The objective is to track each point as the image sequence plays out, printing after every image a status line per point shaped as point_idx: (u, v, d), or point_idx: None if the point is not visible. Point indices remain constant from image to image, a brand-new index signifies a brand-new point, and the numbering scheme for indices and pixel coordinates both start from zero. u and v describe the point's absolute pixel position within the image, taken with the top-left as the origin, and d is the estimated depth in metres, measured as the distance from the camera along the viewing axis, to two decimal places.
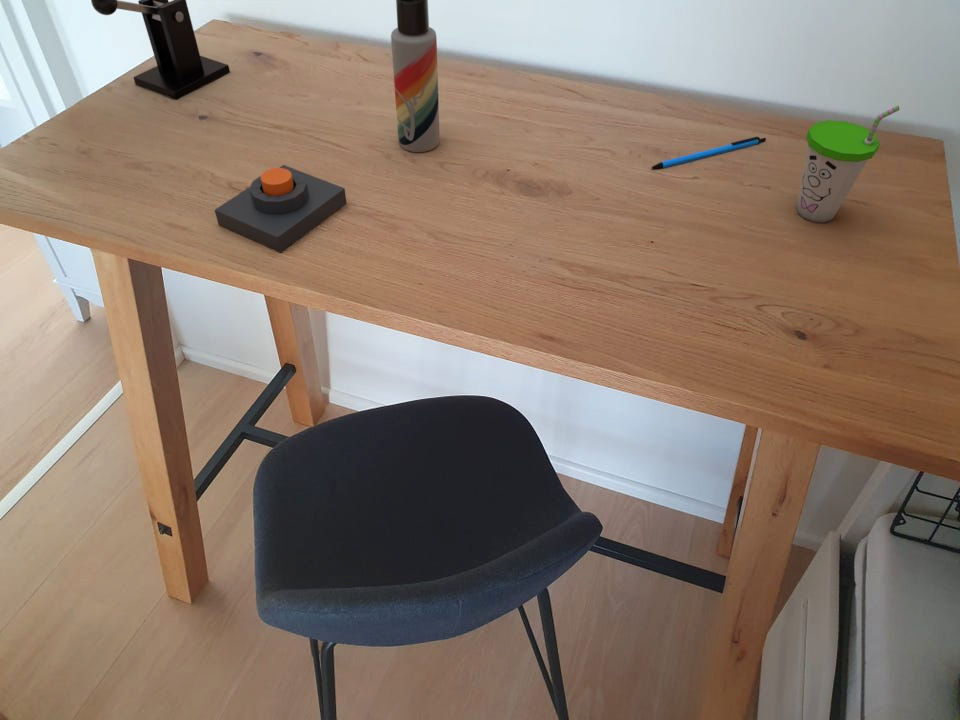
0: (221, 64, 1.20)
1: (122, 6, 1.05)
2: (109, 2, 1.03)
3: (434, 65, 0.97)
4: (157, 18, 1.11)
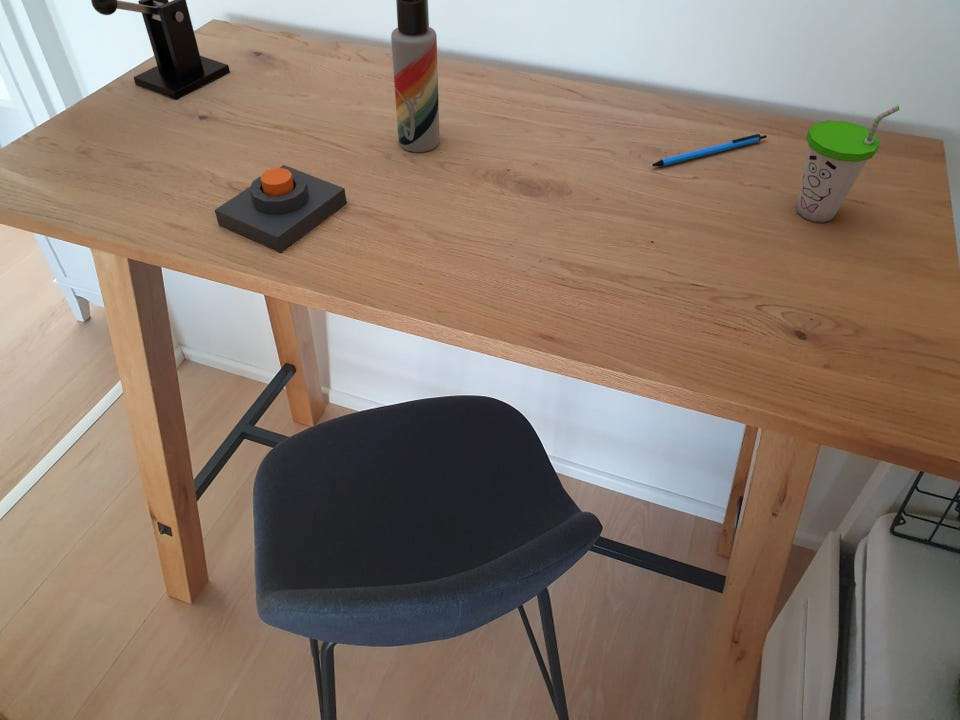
0: (221, 64, 1.20)
1: (122, 6, 1.05)
2: (109, 2, 1.03)
3: (434, 65, 0.97)
4: (157, 18, 1.11)
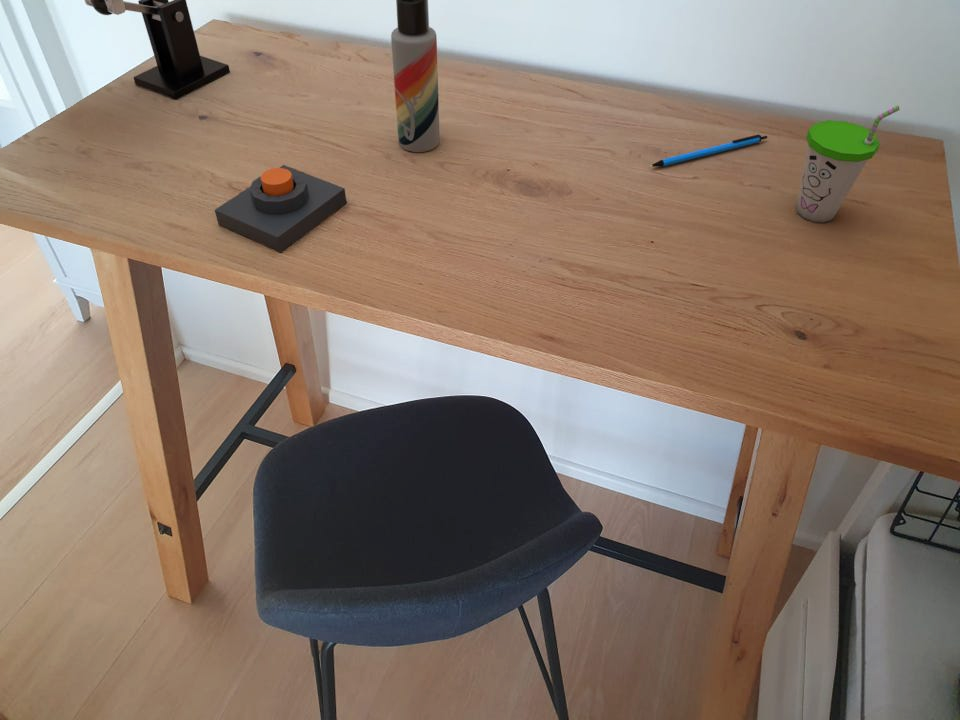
0: (221, 64, 1.20)
1: None
2: None
3: (434, 65, 0.97)
4: (157, 18, 1.11)
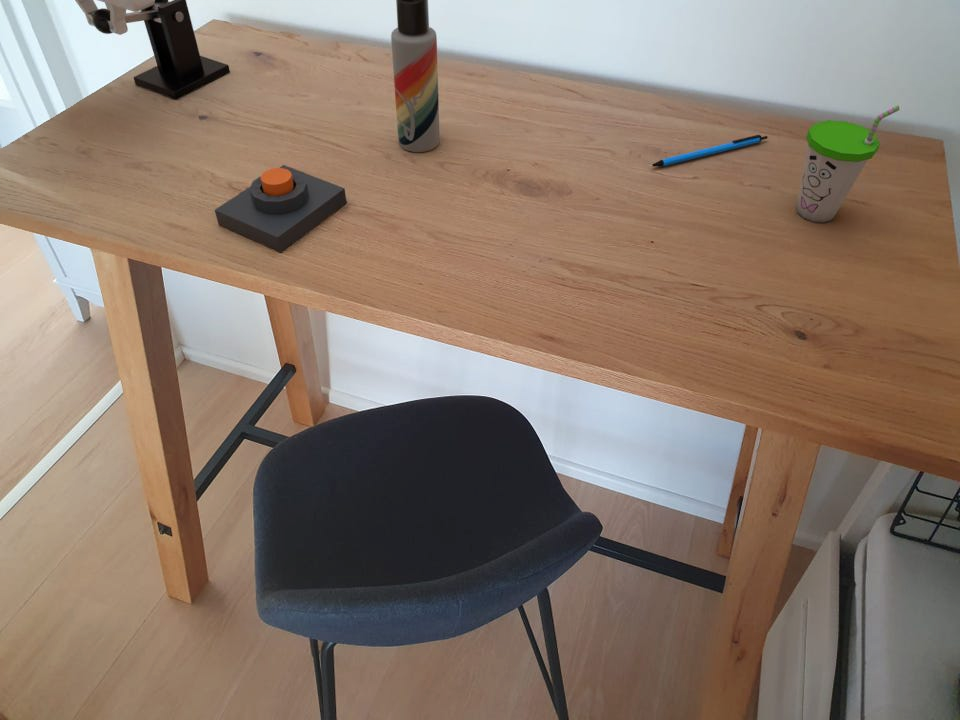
0: (221, 64, 1.20)
1: None
2: None
3: (434, 65, 0.97)
4: (158, 21, 1.11)
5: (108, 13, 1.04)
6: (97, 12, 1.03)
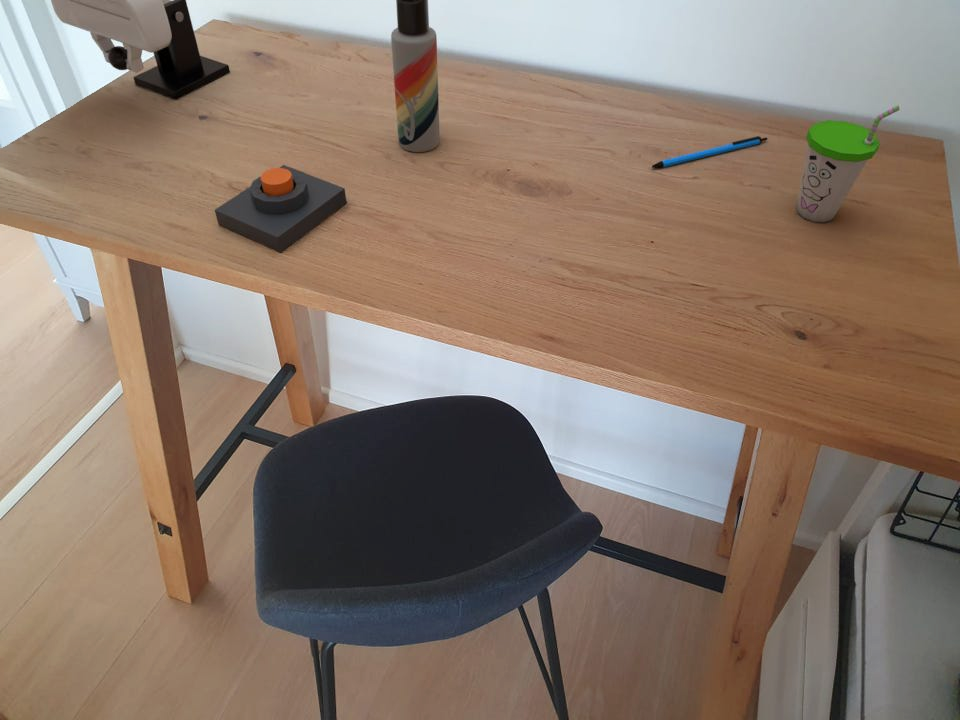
0: (221, 64, 1.20)
1: None
2: None
3: (434, 65, 0.97)
4: None
5: (119, 53, 1.07)
6: (110, 55, 1.07)
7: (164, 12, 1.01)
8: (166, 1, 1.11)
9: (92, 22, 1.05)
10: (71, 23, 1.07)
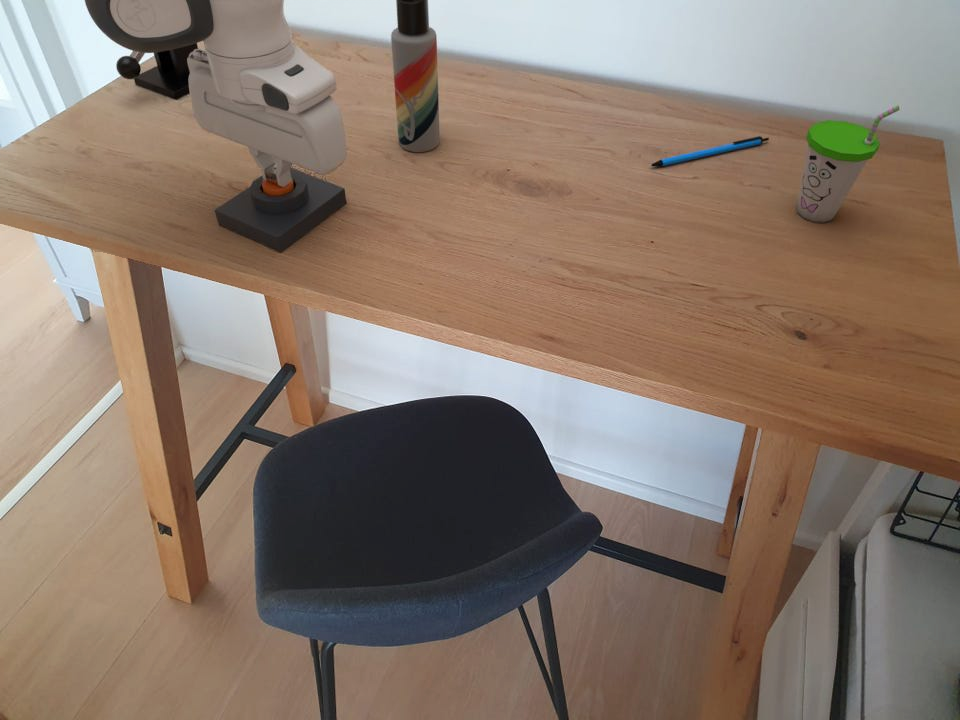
0: None
1: (140, 55, 1.11)
2: (133, 71, 1.09)
3: (434, 65, 0.97)
4: None
5: (127, 64, 1.09)
6: (118, 67, 1.09)
7: (342, 127, 0.81)
8: None
9: (246, 134, 0.85)
10: (215, 132, 0.88)
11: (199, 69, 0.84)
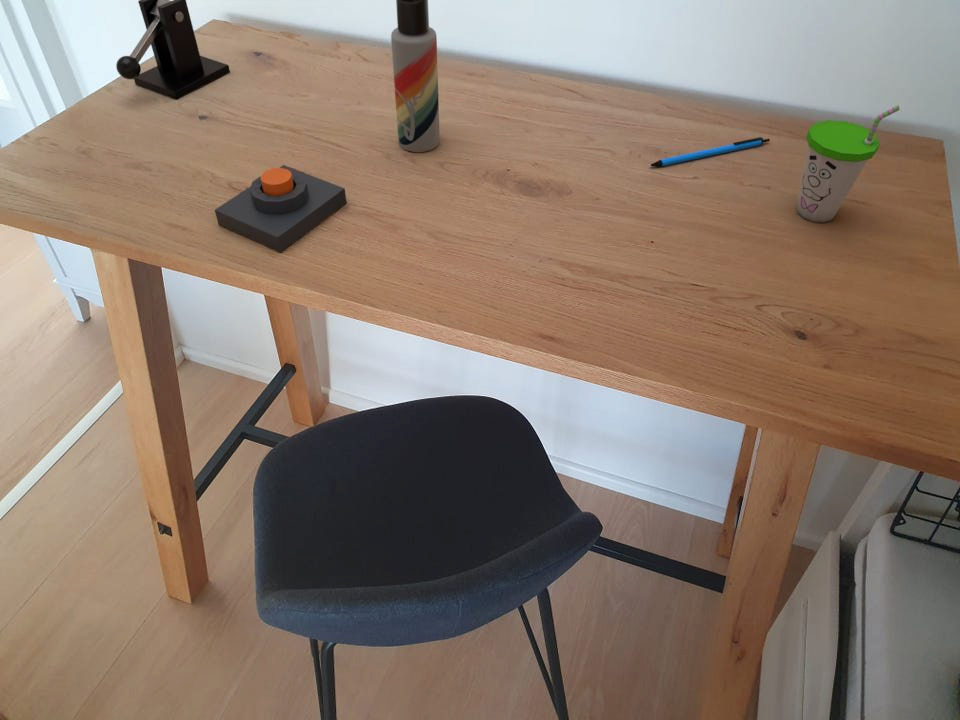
0: (221, 64, 1.20)
1: (140, 55, 1.11)
2: (133, 71, 1.09)
3: (434, 65, 0.97)
4: None
5: (127, 64, 1.09)
6: (118, 67, 1.09)
7: None
8: (164, 1, 1.11)
9: None
10: None
11: None
